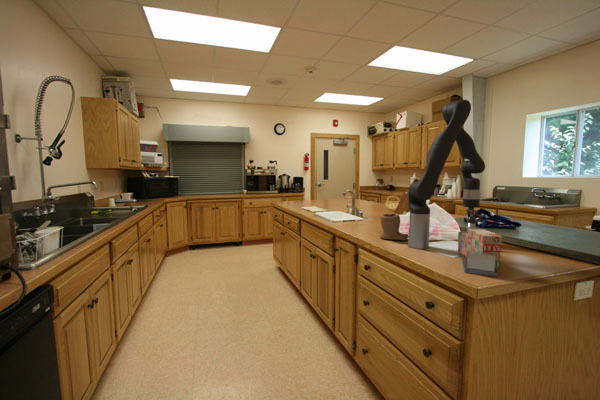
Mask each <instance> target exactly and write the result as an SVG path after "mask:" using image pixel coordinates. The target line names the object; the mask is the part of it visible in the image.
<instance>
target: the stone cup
mask: <svg viewBox="0 0 600 400" xmlns="http://www.w3.org/2000/svg"><path fill="white" fill-rule="evenodd" d="M380 225H381V228H382V231H383V233H380V234H379V238H380V239H384V240H385V239H386V240H393V241H406V240H408V235H409V233H403V232H400V225H401V217H400V214H399V213H395V212H391V213H384V214H382V215H380Z"/></svg>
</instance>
